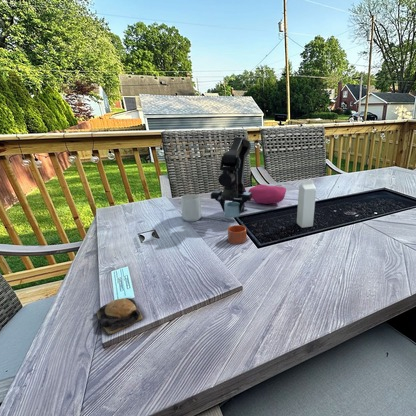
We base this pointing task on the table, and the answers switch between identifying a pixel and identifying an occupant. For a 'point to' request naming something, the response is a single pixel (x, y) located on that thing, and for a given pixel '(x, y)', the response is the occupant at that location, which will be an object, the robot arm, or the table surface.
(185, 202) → the mug
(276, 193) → the pink bowl shaped lump
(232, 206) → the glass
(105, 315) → the brown and black burger
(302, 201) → the milk
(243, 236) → the cup
